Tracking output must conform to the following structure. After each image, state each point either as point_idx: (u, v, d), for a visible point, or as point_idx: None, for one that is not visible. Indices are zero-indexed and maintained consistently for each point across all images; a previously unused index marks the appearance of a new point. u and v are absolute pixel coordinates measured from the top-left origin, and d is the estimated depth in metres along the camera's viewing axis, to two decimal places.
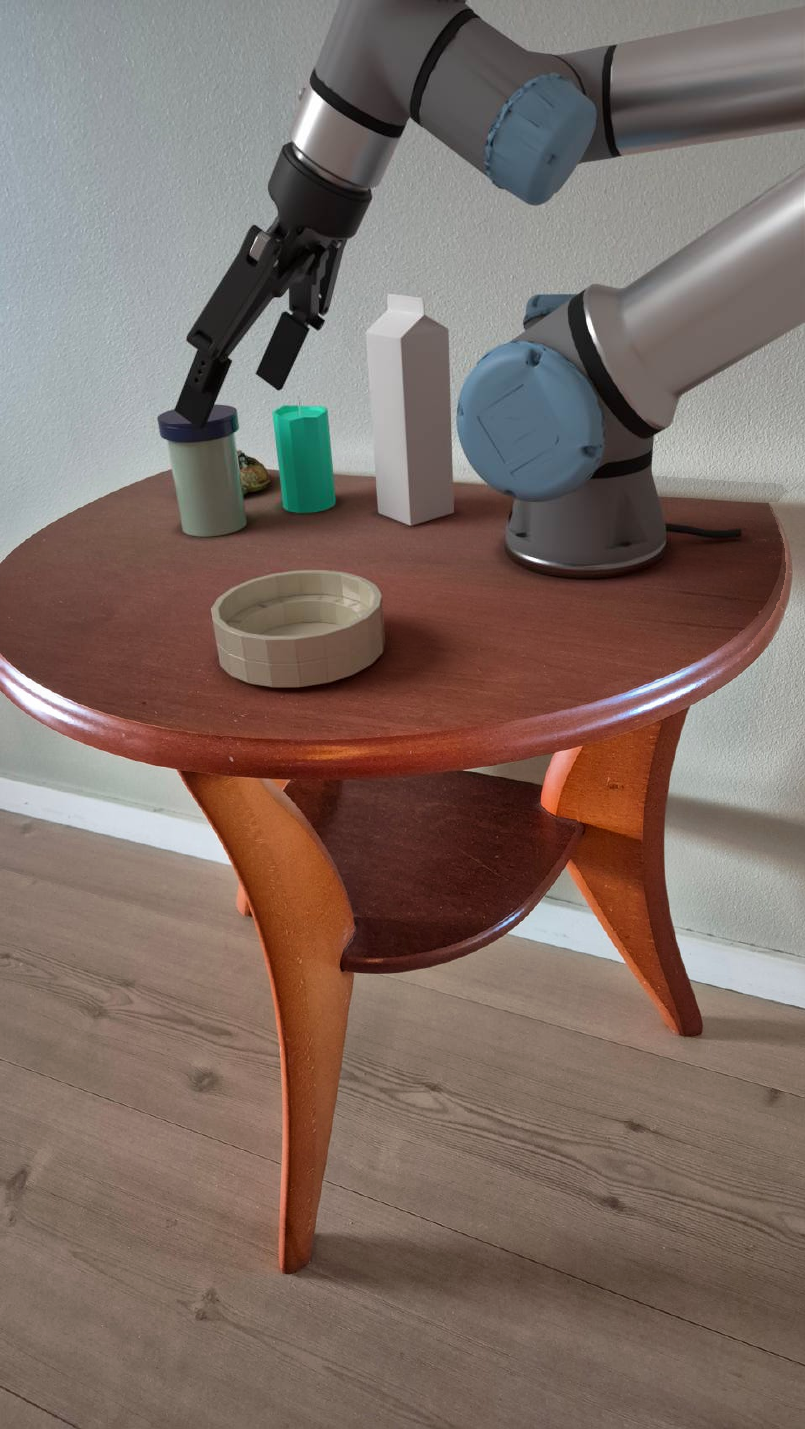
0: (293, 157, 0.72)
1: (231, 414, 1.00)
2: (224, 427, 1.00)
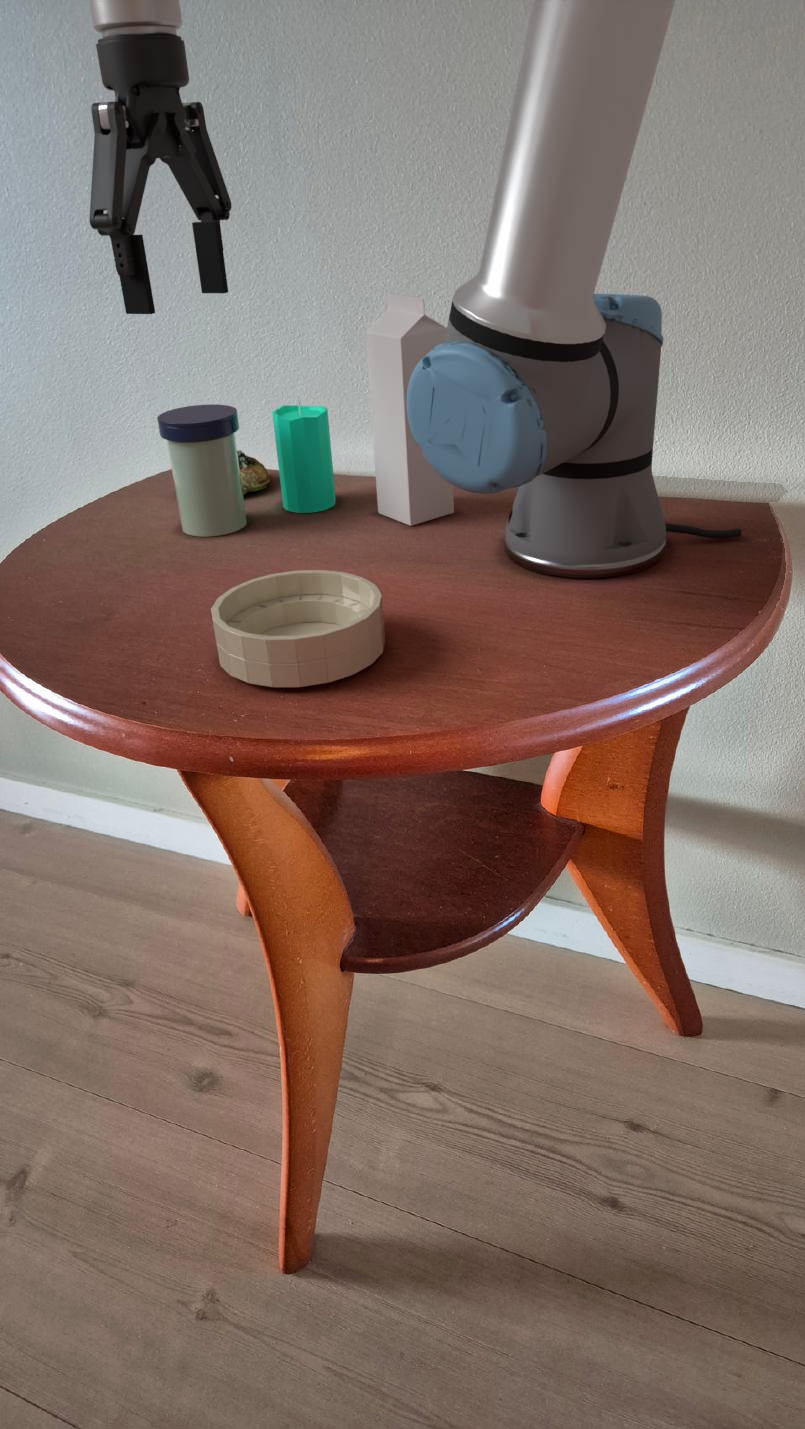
0: (102, 38, 0.84)
1: (231, 414, 1.00)
2: (224, 427, 1.00)
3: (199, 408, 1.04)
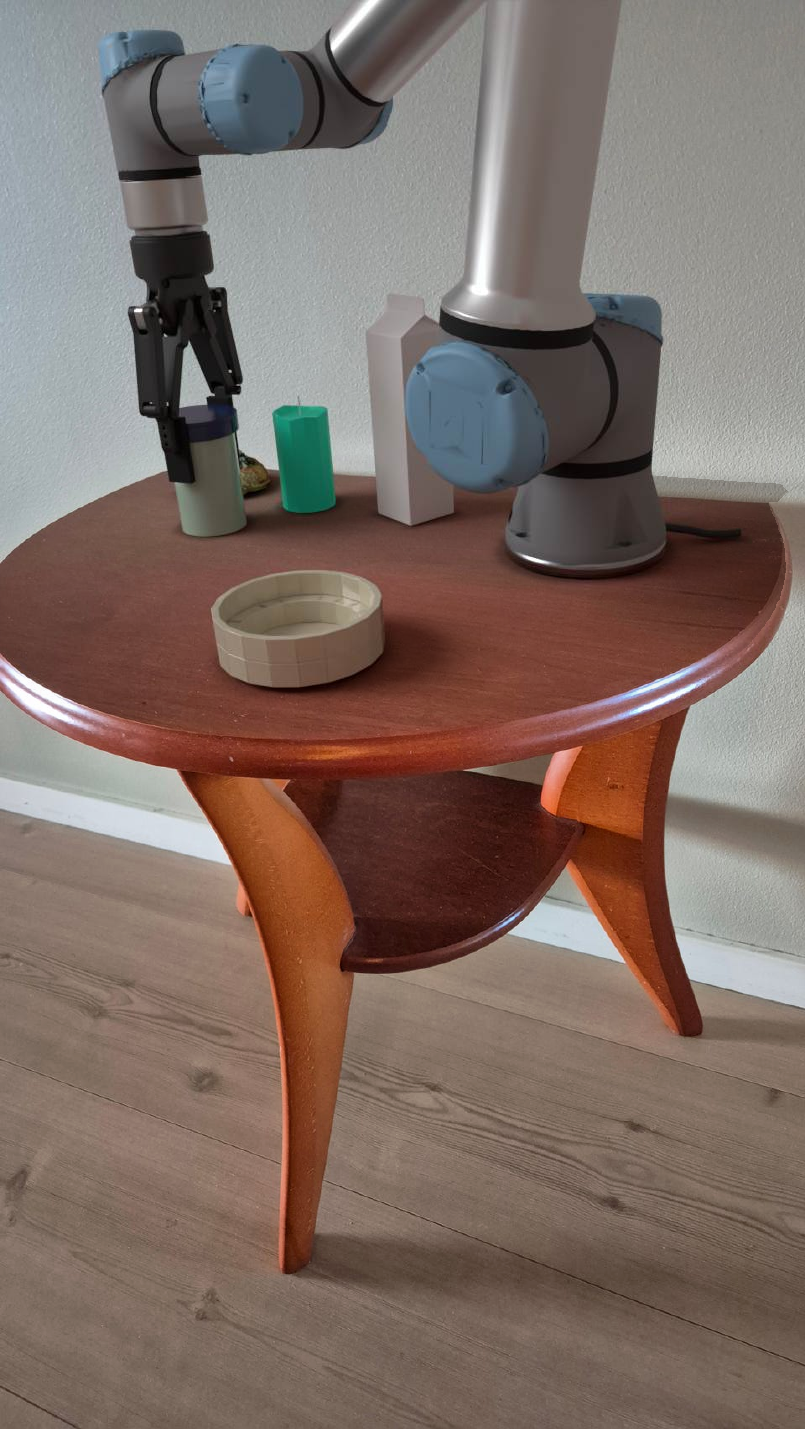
0: (135, 237, 0.92)
1: (231, 414, 1.00)
2: (224, 427, 1.00)
3: (199, 408, 1.04)
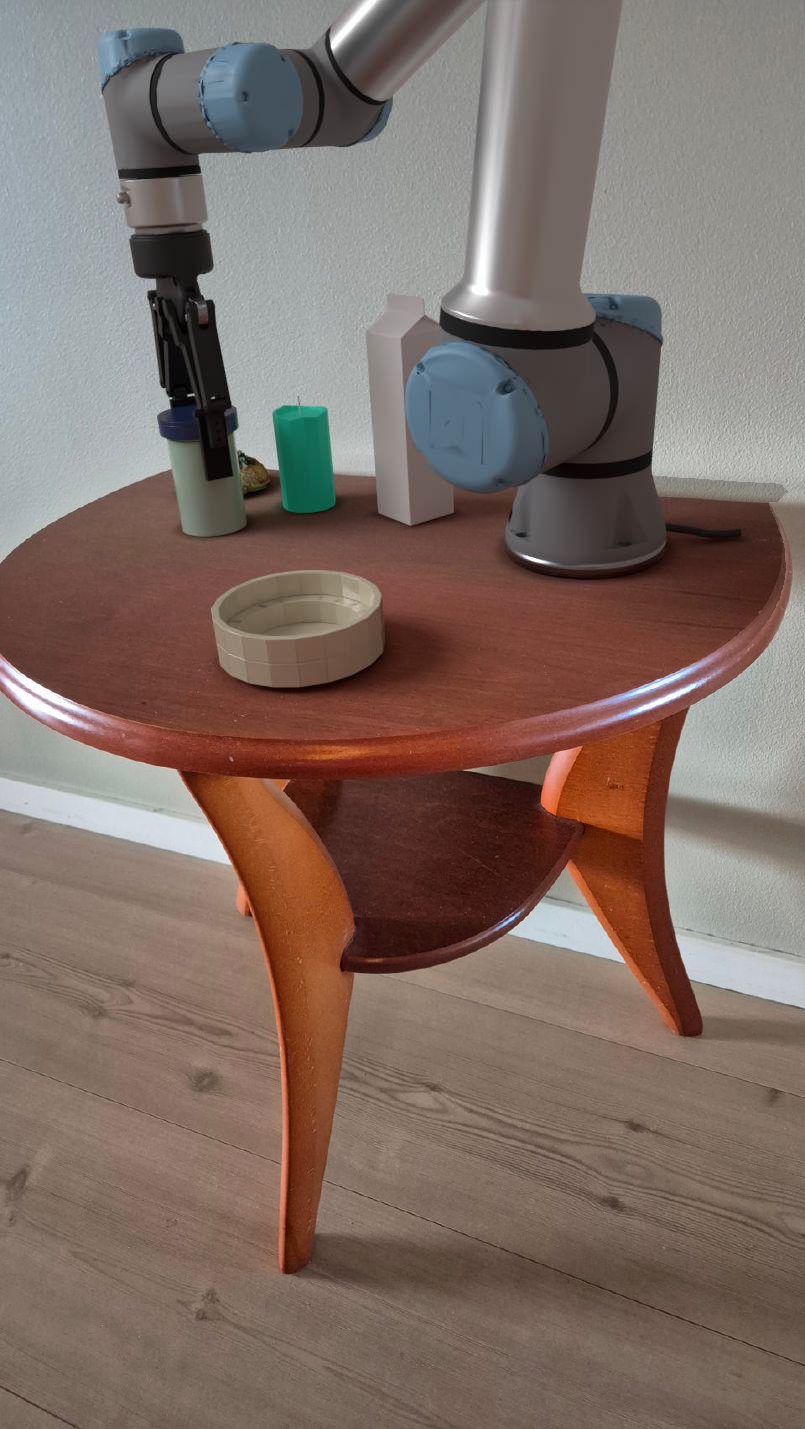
0: (159, 236, 0.90)
1: None
2: (237, 417, 1.02)
3: (180, 410, 1.03)
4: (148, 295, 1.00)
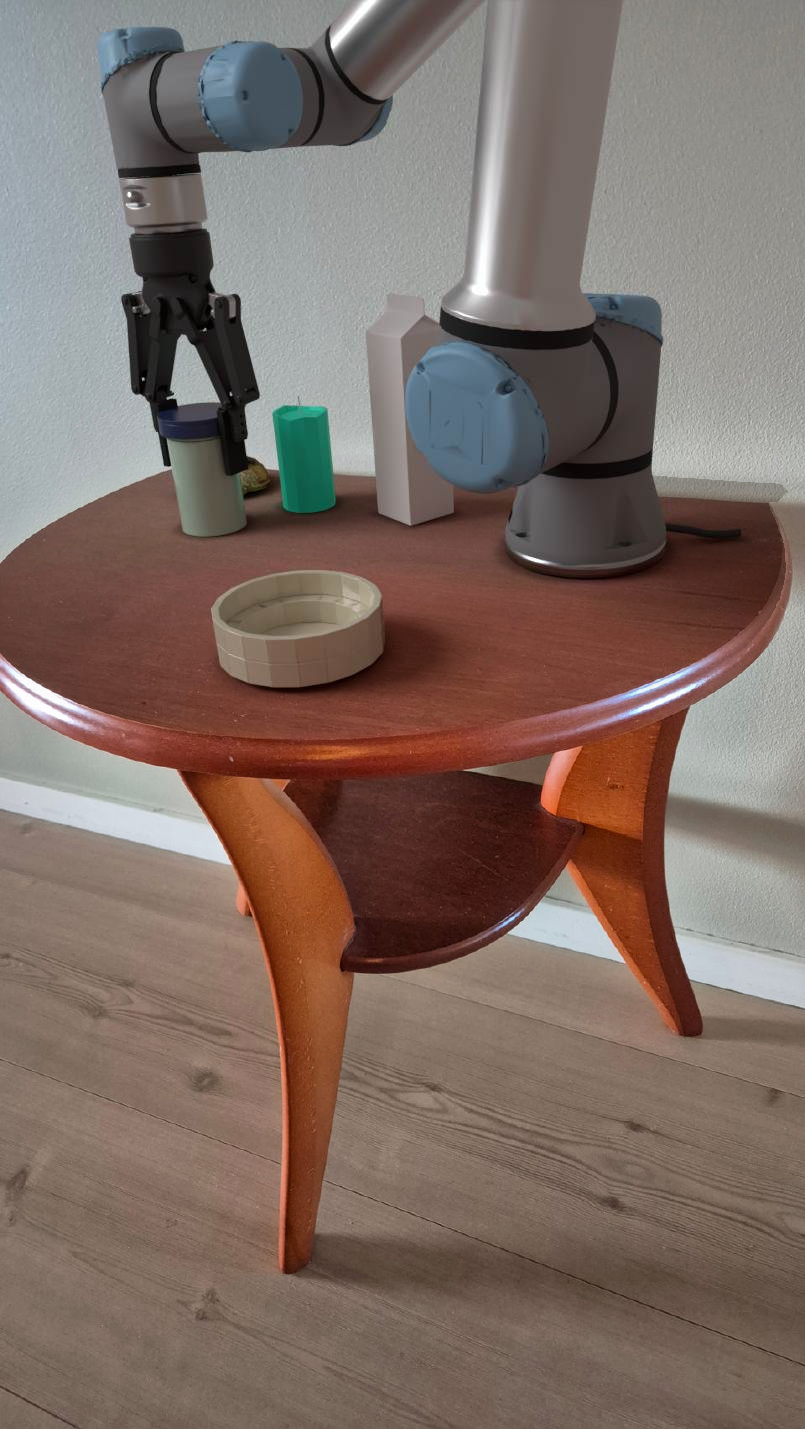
0: (178, 233, 0.90)
1: None
2: None
3: (174, 412, 1.02)
4: (125, 298, 0.98)
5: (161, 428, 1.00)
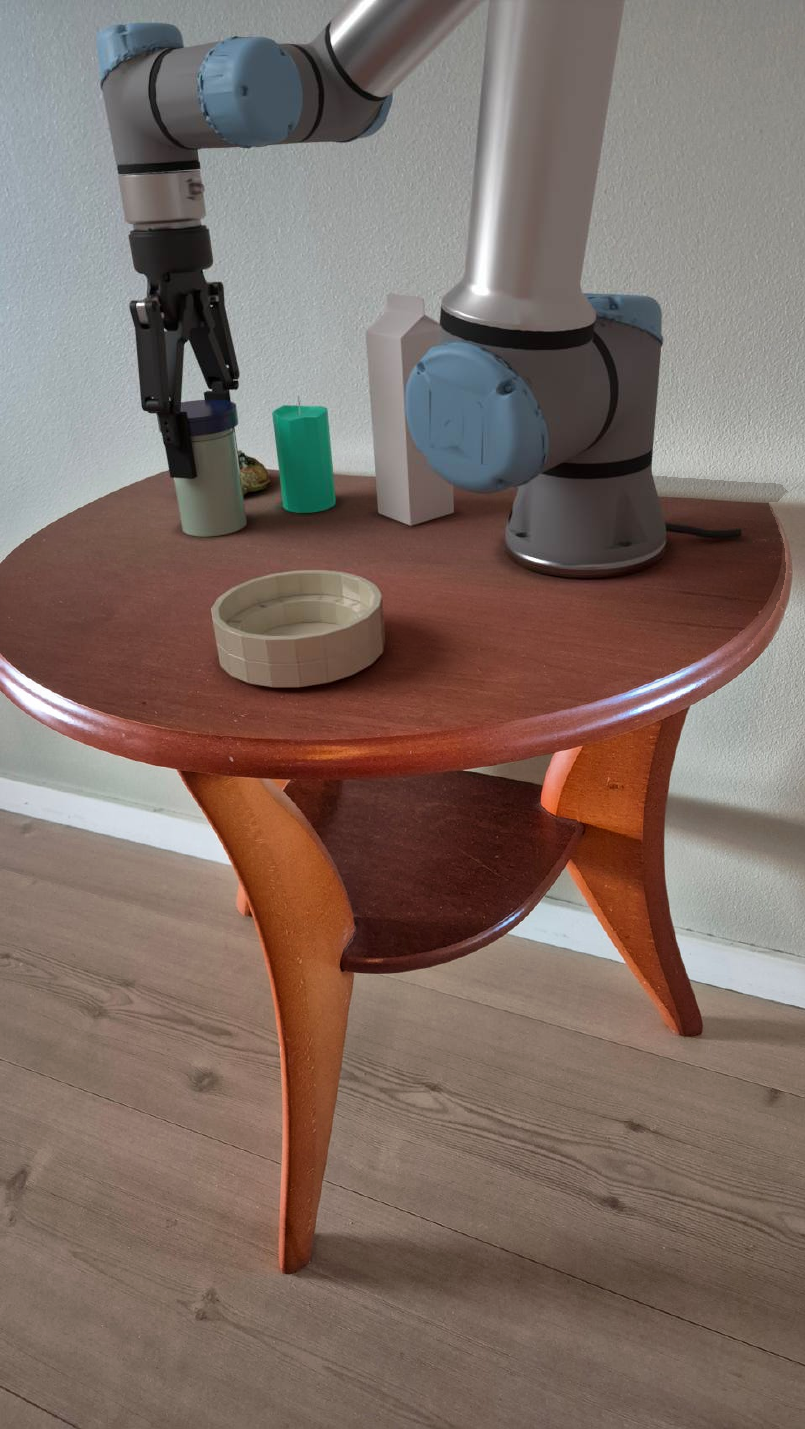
0: None
1: None
2: None
3: (195, 414, 0.99)
4: (156, 304, 0.91)
5: (222, 423, 0.99)
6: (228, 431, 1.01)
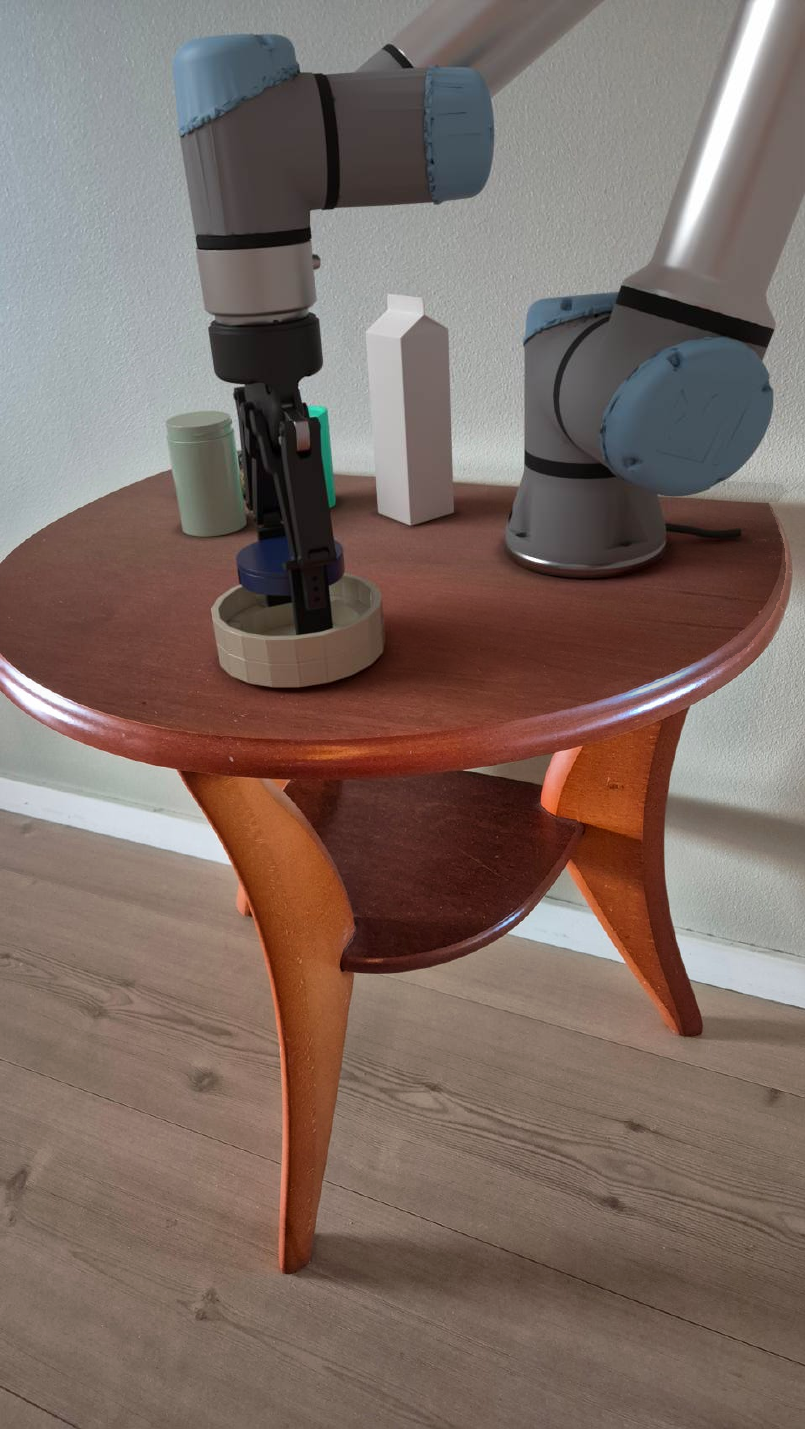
0: None
1: (241, 564, 0.73)
2: None
3: None
4: None
5: (343, 562, 0.75)
6: (228, 431, 1.01)
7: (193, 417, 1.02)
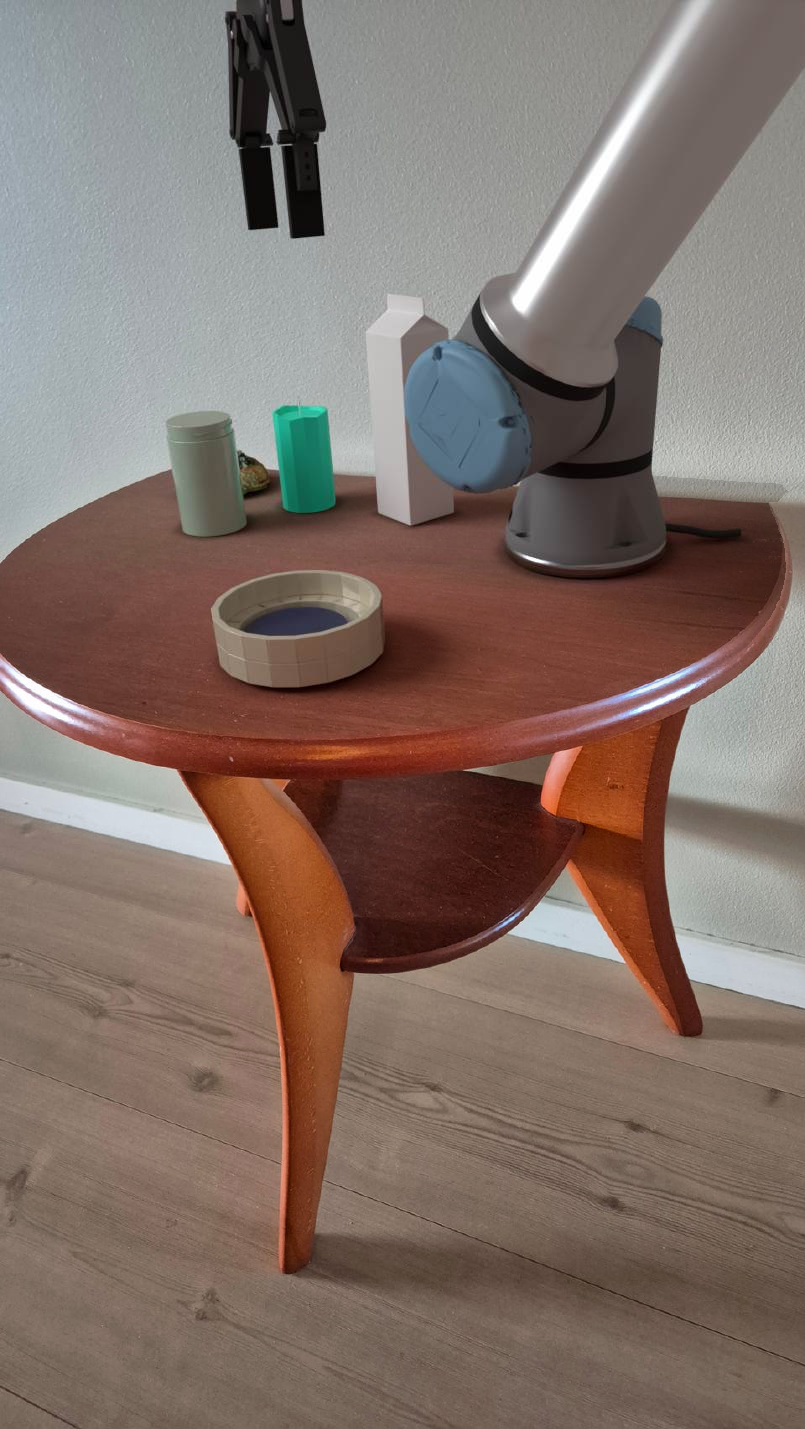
0: None
1: None
2: None
3: None
4: None
5: None
6: (228, 431, 1.01)
7: (193, 417, 1.02)
